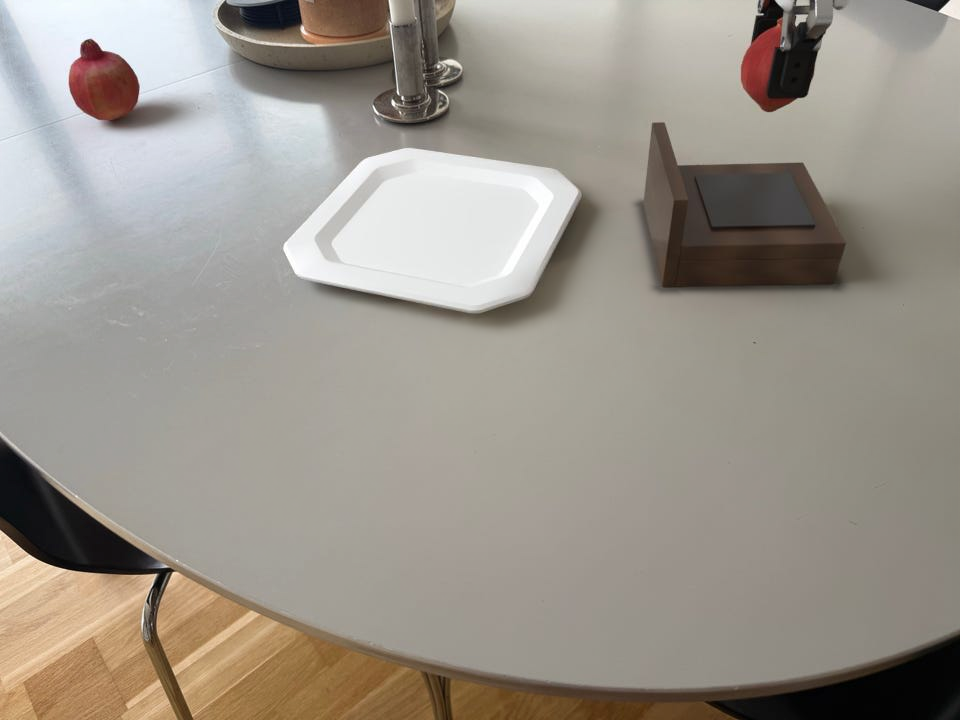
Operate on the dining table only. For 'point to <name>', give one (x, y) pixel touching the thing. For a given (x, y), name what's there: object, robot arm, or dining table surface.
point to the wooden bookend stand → (737, 222)
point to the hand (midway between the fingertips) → (776, 77)
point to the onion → (762, 68)
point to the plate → (437, 229)
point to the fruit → (103, 83)
